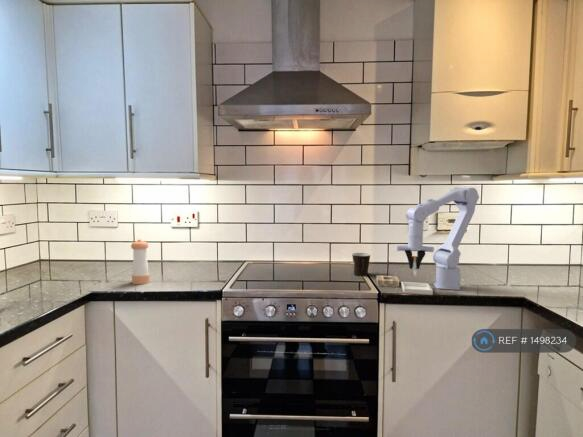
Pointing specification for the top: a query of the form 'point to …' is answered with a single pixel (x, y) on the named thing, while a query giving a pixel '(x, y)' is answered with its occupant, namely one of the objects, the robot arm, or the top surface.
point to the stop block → (387, 281)
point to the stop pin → (414, 266)
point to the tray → (416, 288)
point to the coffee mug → (361, 263)
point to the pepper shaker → (140, 263)
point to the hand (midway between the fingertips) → (414, 268)
